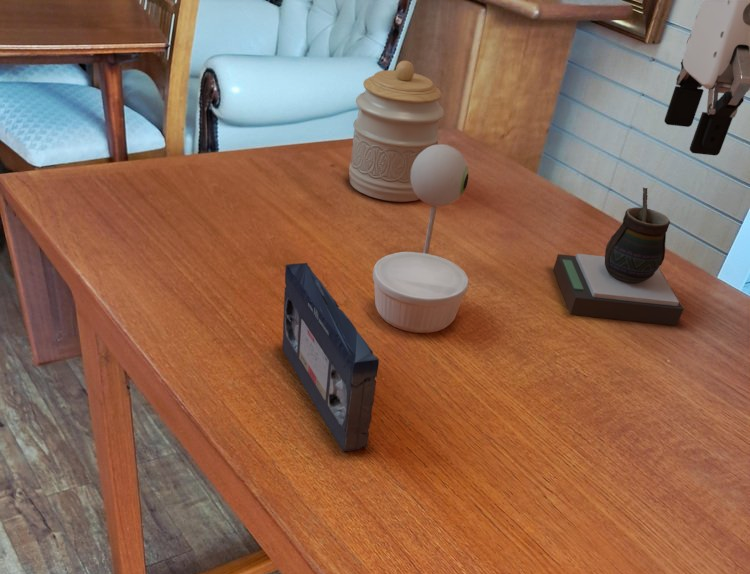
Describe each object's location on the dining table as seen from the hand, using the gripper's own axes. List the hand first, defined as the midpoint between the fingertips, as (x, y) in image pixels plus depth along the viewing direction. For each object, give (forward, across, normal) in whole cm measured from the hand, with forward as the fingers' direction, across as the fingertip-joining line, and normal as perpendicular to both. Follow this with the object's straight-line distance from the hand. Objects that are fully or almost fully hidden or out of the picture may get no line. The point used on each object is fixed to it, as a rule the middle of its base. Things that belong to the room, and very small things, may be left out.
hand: (689, 138), depth 89 cm
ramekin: (+20, -9, +29) cm, 37 cm away
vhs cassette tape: (+20, -27, +39) cm, 52 cm away
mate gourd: (+18, +2, +1) cm, 18 cm away
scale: (+21, +2, +2) cm, 21 cm away
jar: (+20, +30, +31) cm, 48 cm away
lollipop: (+20, +5, +27) cm, 34 cm away
